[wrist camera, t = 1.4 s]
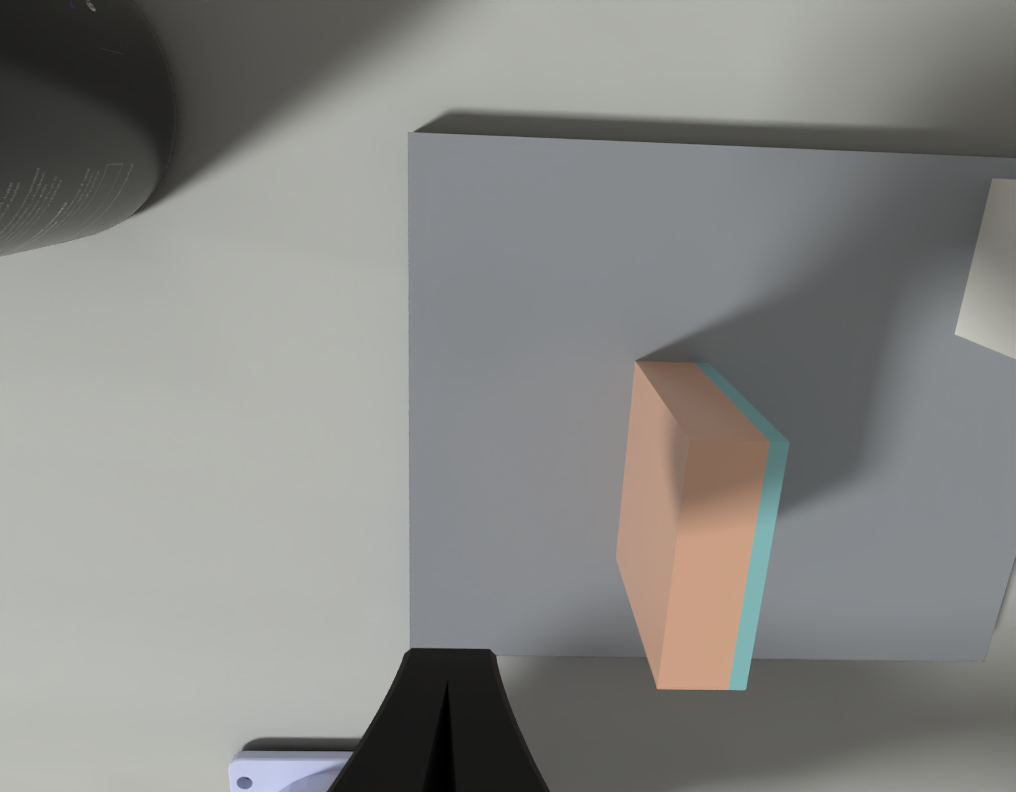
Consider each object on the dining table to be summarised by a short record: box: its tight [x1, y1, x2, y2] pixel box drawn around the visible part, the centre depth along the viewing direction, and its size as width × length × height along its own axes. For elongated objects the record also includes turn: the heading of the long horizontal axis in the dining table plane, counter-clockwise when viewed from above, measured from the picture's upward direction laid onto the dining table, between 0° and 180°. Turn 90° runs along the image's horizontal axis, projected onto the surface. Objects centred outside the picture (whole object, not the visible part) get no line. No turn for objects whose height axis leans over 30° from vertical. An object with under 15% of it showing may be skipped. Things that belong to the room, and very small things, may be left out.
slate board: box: [408, 132, 1016, 662], centre depth 21 cm, size 15×18×1 cm
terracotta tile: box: [616, 361, 790, 690], centre depth 18 cm, size 6×2×6 cm, turn 178°
